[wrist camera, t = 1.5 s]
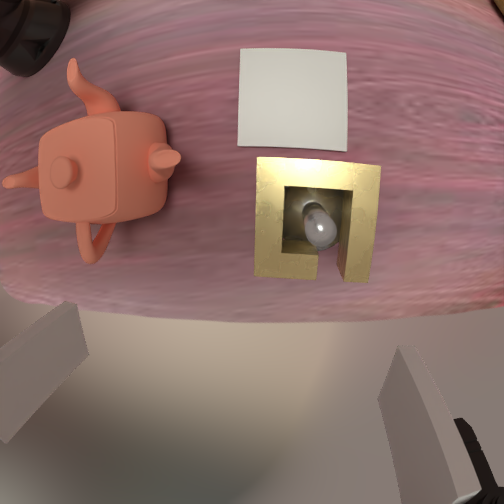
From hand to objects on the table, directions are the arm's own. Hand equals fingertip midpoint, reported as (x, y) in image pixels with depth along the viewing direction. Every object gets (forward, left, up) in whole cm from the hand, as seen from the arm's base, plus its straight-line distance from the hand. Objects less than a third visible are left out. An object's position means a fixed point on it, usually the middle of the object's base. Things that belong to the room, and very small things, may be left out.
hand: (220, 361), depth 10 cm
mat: (-15, +2, -25) cm, 29 cm away
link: (-3, +4, -17) cm, 17 cm away
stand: (-3, +4, -25) cm, 25 cm away
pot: (-8, -19, -25) cm, 32 cm away
